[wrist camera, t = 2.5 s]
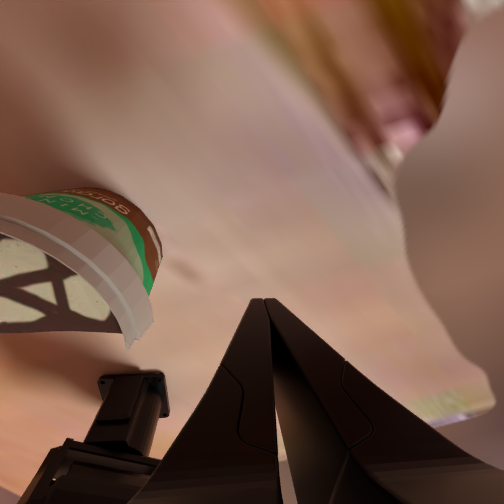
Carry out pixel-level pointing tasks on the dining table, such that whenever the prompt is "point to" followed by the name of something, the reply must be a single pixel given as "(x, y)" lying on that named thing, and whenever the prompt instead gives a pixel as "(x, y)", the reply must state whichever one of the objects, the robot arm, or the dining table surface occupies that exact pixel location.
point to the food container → (76, 263)
